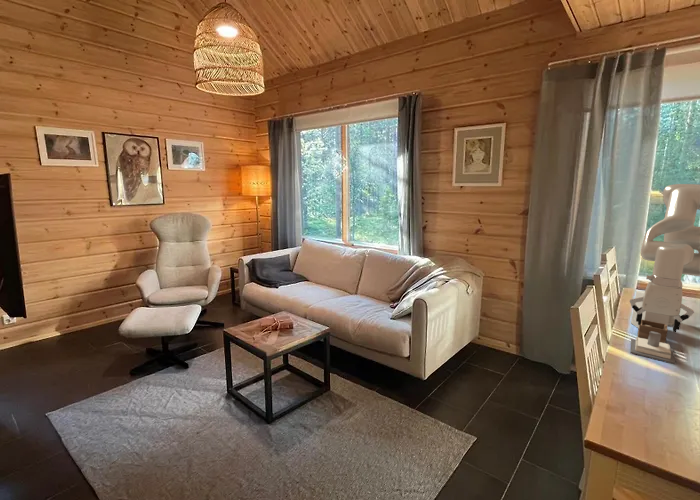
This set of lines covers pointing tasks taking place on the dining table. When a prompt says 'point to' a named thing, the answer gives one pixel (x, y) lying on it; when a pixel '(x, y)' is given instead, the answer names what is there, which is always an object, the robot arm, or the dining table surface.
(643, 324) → the storage box
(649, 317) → the supplement box
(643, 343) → the lid
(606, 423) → the dining table surface
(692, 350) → the dining table surface
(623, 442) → the dining table surface
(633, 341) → the mat
